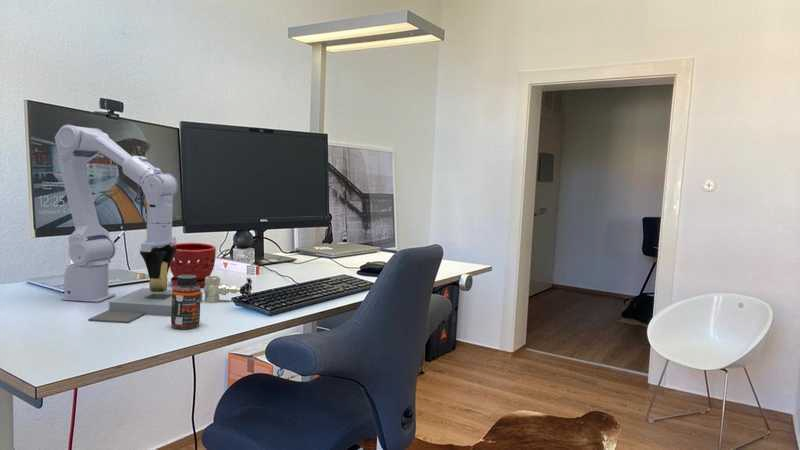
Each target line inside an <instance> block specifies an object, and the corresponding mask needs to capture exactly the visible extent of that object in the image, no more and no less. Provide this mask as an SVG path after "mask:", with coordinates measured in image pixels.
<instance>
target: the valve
mask: <svg viewBox="0 0 800 450" xmlns="http://www.w3.org/2000/svg"><path fill="white" fill-rule="evenodd" d="M205 283H206V284H205V286H203V287H204V288H203V293H204V302H206V303H210V304H211V303H218V302H220V295H222V296H227V295H228V294H229V293H231V294H237V293H239V294H240V295H241V297H242V296H246V295H249V294H251V295H252V290H253V286H252V283H253V280H252V278H251V277H246V282H245V284H243V285H241V286H240V287H237V286H233V285H232V286H231V287H230V286H228V284H227V283H223V284H221V278H220V277H219V276H218V275H210V276H207V277H205Z"/></svg>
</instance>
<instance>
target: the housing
mask: <svg viewBox="0 0 800 450" xmlns="http://www.w3.org/2000/svg"><path fill="white" fill-rule="evenodd" d="M149 288H150V287H149ZM149 288H148V287H147V288H145V287H141V288H139V289H137V290H134V291H132V292H130V293H127V294H125V295H123V296H121V297H118V298H116V299H114V300H111V301H109V302H108V303H109V304H108V310H109V311H121V312H138V313H145V315H147V316H148V315H149V316H164V317H166V316H167V317H171V309H172V289H167V291H164V292H151V291H149ZM202 301H203V291H201V299H200V303H201V302H202ZM145 315H144V316H145Z"/></svg>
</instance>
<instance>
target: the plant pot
mask: <svg viewBox="0 0 800 450" xmlns="http://www.w3.org/2000/svg"><path fill="white" fill-rule="evenodd" d="M171 246H173V247H177V250H176V252H175V254H174V255H173V258H172V260H171V263H170V267H169V270H170V272H171V274H172V277H171V278H170V282H171V284H172V285H174V286H175V285H176V284H177V283H178V282H177V277H178V276H179V275H195V276H197V282H196V284H197V285H198V286H200V288H202V287H204V286H205V284H206V283H205V277H207V276H212V272H213V271H214V268H215V262H216V255H217V254H216V253H217V251H216V250H217V249H216V248H217V247H216V246H215V245H212V244H207V243H199V242H183V243H182V242H181V243H176V244H175V245H171Z"/></svg>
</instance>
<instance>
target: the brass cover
mask: <svg viewBox="0 0 800 450" xmlns="http://www.w3.org/2000/svg"><path fill="white" fill-rule="evenodd" d="M167 266H168V263H167V262H165V261H162V264H161V272H160V276H159V279H151V278H149V291H151V292H164V291H167V290H168V274H167Z"/></svg>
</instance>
